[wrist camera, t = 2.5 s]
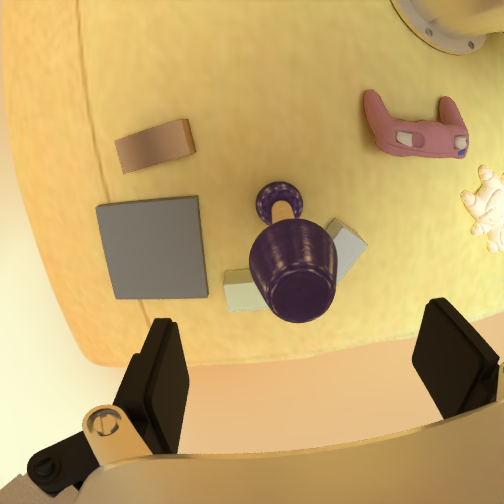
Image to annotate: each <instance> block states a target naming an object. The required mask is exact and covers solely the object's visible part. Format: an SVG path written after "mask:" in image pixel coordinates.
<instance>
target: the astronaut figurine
mask: <svg viewBox="0 0 504 504" xmlns="http://www.w3.org/2000/svg"><path fill="white" fill-rule="evenodd" d="M479 176H480V179H481V182H482V186H481V188H480V189H479V191H478V192H477V193H476V194H475V195H474V194H472V193H470V192H467V191H463V192H462V193H461V199H462V201H463V202H464V205H465V207H466V208H467V209H468V211H469V212H470V213H471V214H472V216H473V217H474V218H475V220H476V222H475V223H474V224H473V226H472V228H471V232H472V234H473V235H475V236H481V235H482V234H486V233H488V238H489V240H488V242H487V247H488V250H489V251H490V252H492V253H497V252H498V250H499V251H504V174H503V175H502V177H501V180H500V179H499V177H498V176H497V175H496V173H495V172H494V171H492V170H491V169H490V168H488V167H487V166H481V167H480V168H479Z"/></svg>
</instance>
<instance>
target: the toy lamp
mask: <svg viewBox="0 0 504 504" xmlns="http://www.w3.org/2000/svg"><path fill="white" fill-rule="evenodd" d="M302 209H303V200H302V197H301V195H300V193H299V191H298V190H297V189H296V188H295V187H294V186H292V185H291V184H289V183H286V182H273V183H270V184H268V185H267V186H265V187H264V188H263V189H262V190H261V191H260V192H259V194H258V196H257V199H256V210H257V213H258V215H259V217H260V218H261V220H262V221H263V222H265V223H266V224H267V225H269V227H267V228H266V229H264V230H263V231H262V232H261V233H260V235H259V236H258V237H257V238H256V240H255V242H254V244H253V245H252V248H251V251H250V255H249V268H250V272H251V276H252V278H253V281H254V283H255V285H256V286H257V288H258V290H259V292H260V294H261V295H262V297H263V299H264V300H265V302H266V304H267V305H268V307H269V308H270V310H271V311H272V312H273V313H274V314H275V315H276V316H278V317H279V318H281V319H283V320H285V321H288V322H292V323H305V322H309V321H312V320H314V319H316V318H318V317H320V316H321V315H322V314H324V313H325V312H326V311H327V309H328V308H329V307H330V305H331V303H332V301H333V299H334V296H335V292H336V281H337V268H338V256H337V250H336V247H335V244H334V242H333V240H332V238H331V237H330V235H329V234H328V233H327V232H326V231H325V230H324V229H323V228H322V227H321V226H318V225H317V224H316V223H313V222H311V221H308V220H305V219H298V218H299V217H300V215H301V213H302Z"/></svg>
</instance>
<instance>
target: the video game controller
mask: <svg viewBox="0 0 504 504" xmlns="http://www.w3.org/2000/svg"><path fill="white" fill-rule="evenodd" d="M364 108H365V112H366V116H367V120H368V123H369V125H370V127H371V129H372V131H373V134H374V136H375V138H376V141H375V143H376V145H377V147H378V148H379V149H380V150H382V151H383V152H385V153H388V154H390V155H392V156H400V157H404V156H409V155H414V156H420V157H430V158H450V157H452V158H456V159H462V158H464V157H465V156H466V153H467V149H468V145H469V134H468V130H467V128H466V126H465V124H464V122H463V119H462V117H461V115H460V112H459V110H458V108H457V106H456V104H455V102H454V101H453V100H452V99H451V98H449V97H447V96H444V97H442V98H441V100H440V104H439V113H440V118H441V123H439V122H435V121H426V120H421V121H418V122H408V121H404V120H401V119H393V118H392V117H391V116H390V114H389V113H388V111H387V109H386V108H385V106H384V104H383V102H382V100H381V98H380V96H379V95H378V94H377V93H376V92H375V91H374V90H373V89H369V90H367V91H366V93H365V96H364Z"/></svg>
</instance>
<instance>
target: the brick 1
mask: <svg viewBox="0 0 504 504" xmlns="http://www.w3.org/2000/svg"><path fill="white" fill-rule="evenodd" d="M115 145H116V149H117V153H118V156H119V160H120V164H121V167H122V171H123V174H126V173H129V172H132V171H135V170H139V169H142V168H145V167H148V166H152V165H155V164H158V163H162V162H165V161H169V160H172V159H176V158H179V157H183V156H187V155H190V154H192V153H194V152H196V150H195V146H194V142H193V138H192V134H191V130H190V125H189V121H188V119H180V120H176V121H173V122H169V123H166V124H163V125H160V126H156V127H153V128H150V129H147V130H144V131H141V132H138V133H135V134H132V135H129V136H127V137H124V138H121V139H118V140H116V141H115Z"/></svg>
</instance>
